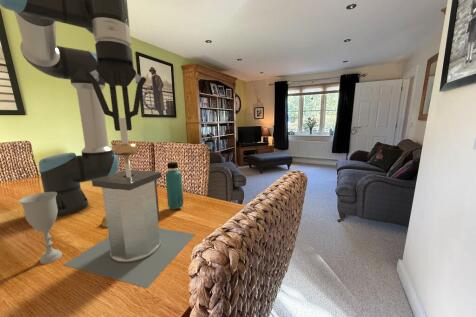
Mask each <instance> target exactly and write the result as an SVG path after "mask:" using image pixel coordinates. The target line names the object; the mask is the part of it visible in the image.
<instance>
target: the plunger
mask: <svg viewBox="0 0 476 317" xmlns="http://www.w3.org/2000/svg"><path fill="white" fill-rule="evenodd" d="M113 146H114V152H115V155H118V157H119V156H123V160H124V171H126V177H128V178H129V177H131V170H132V169H131V162H130V156H131V155H133V156H134V155H136V154H138V153H137V144H136V143H134V142H133V143H131V142H130V143H129V142H128V144H122V143H117V144H114V145H113Z"/></svg>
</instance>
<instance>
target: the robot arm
mask: <svg viewBox="0 0 476 317" xmlns="http://www.w3.org/2000/svg"><path fill="white" fill-rule="evenodd" d="M0 6H1V7H2V8H4V9H6V10H9V11H11V12H14V15H15V19H16V23H17V25H18V28H19V33H20V36H21V39H22V41H21V42H20V45H19V46H20V47H19V48H20V51H21V54H22V57H23V58H24V59H25V60H26V62H28V64H30V65H31V66H32V67H33V68H34V69H36V70H38V71H40V72H41V73H43V74H44V75H47V76H50V77H52V78H57V79H61V80H62V79H63V80H70V85H71V86H72V87H73V88H75V90H76V95H77V102H78V107H79V113H80V114H79V116H80V122H81V128H82V134H83V141H84V148H83V149H82V150H81V155H76V152H66V153H64V152H63V153H61V154H60V153H58V154H54V155H49V156H46V157H44V158H41V159H39V161H38V172H39V174H40V179H41V185H42V190H43V193H44V192H57V195H56V204H57V209H58V213H57V217H61V216H66V215H67V216H68V215H70V214H71V215H72V214H74V213H78V212H80V211H82V210H84V209H86V208H87V207H88V206H89V200H88V198H87V196H86V195H85V193H84V191H83V190H82V187H81V183H85V182H92V180H95V179H99V178H102V177H105V176H109V175H112V174H116V173H119V172H118V171H119V163H120V162H119V155H115V151H114V150H113V148H112V147H111V146H110V145H109V140H108V132H107V131H108V130H107V125H106V116H109V117H111V118H112V119H113V125H114V130H115V131H116V132H119V131H120V141H121V144H128V143H129V136H128V131H132V129H133V128H132V127H133V126H132V118H133V117H134V116H138V114H139V112H140V111H139V109H140V103H141V97H142V93H143V92H142V91H143V87H144V85H145V84H146V82H147V79H146V77H145V76H141V75H140V74H139V73H137V70H136V68H135V67H134V58H133V50H132V49H133V48H131V47H132V38H131V29H130V19H129V7H128V0H0ZM57 22H58V23H62V24H67V25H69V26H74V27H79V28H83V29H86V31H88V32H89V33H91V34H93V39H94V42H96V43H94V46H95V52H94V51H90V50H83V49H77V48H70V47H66V46H59V45H57ZM134 78H135V84H137V85H136V90H135V95H134V100H133V101H134V103H133V106H132V107H133V109H132V110H131V108H130V100H129V91H128V86H130V84H131V83H132V82H133V80H134ZM106 84H107V85H108V86H109V94H110V101H111V110H110V108H109V105H108V103H107V101H106V98H105V95H104V92H103V90H104V89H105V88H106ZM118 86H119V87H121V91H122V101H123V110H124V116H125V117H120V114H119V104H118V94H117V87H118Z"/></svg>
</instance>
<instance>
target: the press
mask: <svg viewBox="0 0 476 317" xmlns="http://www.w3.org/2000/svg"><path fill="white" fill-rule="evenodd" d="M161 178H162V171H152V170H138V169H137V170H136V169H131V177H129V178H128V177H126V170H123V171H119V172H117V173H116V174H112V175H109V176H105V177H102V178H99V179H95V180H92V181H91V184H92V187H95V188H97V187H98V188H101V190H102V199H103V206H104V212H105V216H106V220H107V227H106V228H107V232H108V234H107V235H108V237H109V241H110V248H111V251H110V255H111V259H112V260H113V261H115V262H117V263H133V262H137V261H141V260H143V259H145V258H148V257H149V256H151V255H152V254H154V253H155V252H156V251H157V250H158V249H159V247H160V245H161V238H160V236H159V228H160V227H159V220H160V219H161V218H160V211H159V210H160V208H159V207H160V206H159V197H158V185H157V184H158V183H157V180H158V179H161Z"/></svg>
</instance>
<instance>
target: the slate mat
mask: <svg viewBox="0 0 476 317" xmlns="http://www.w3.org/2000/svg"><path fill="white" fill-rule="evenodd" d="M196 235H197V234H195V233H191V232H184V231H180V230H174V229H167V228H162V227H161V228H160V227H159V236H160V238H161V245H160V247H159V249H158V250H157V251H156V252H155V253H154V254H152V255H151V256H149V257H148V258H145V259H143V260H141V261H137V262H133V263H117V262H115V261H113V260H112V259H111V255H110V251H111V248H110V241H109V236H107V237H105V238H104V239H102V240H101V241H100V242H98V243H96V244H94V245H93V246H91V247H89V248H88V249H86V250H85V251H83V252H82V253H80V254H78V255H77V256H75V257H73V258H72V259H70V260H68V261H67V262H65V263H63V266H66V267H69V268H73V269H77V270H79V271H80V270H81V271H84V272H87V273H91V274H94V275H98V276H103V277H106V278H109V279H112V280H116V281H120V282H124V283H128V284H131V285H134V286H138V287H141V288H146V289H148V288H149V287H150V286H151V285H152V283H154V281H155V280H156V279H157V278H158V277H159V276H160V275H161V274H162V272H163V271H165V269H166V268H167V267H169V265H170V264H171V263H172V262H173V260H174V259H175V258H176V257H177V256H178V255H179V254H180V252H182V250H183V249H184V248H185V247H186V246H187V245H188V244H189V243H190V242H191V241H192V239H193V238H195V236H196Z"/></svg>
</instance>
